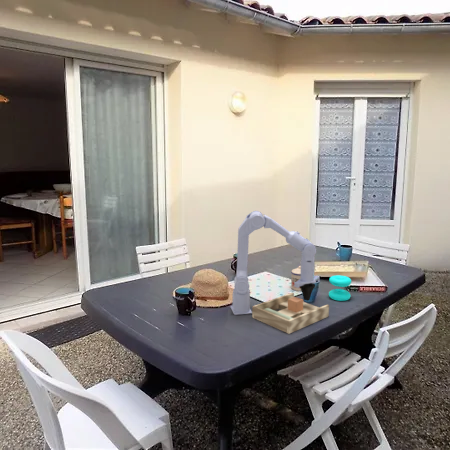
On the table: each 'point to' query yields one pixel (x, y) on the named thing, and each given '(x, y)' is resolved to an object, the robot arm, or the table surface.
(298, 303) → the block
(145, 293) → the table surface
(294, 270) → the teacup with lid
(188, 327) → the table surface
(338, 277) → the cyan spool
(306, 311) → the trap box
